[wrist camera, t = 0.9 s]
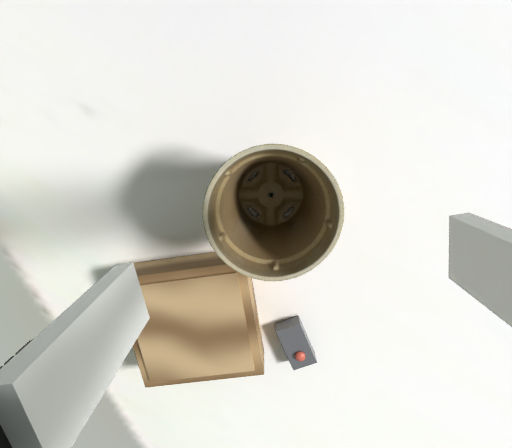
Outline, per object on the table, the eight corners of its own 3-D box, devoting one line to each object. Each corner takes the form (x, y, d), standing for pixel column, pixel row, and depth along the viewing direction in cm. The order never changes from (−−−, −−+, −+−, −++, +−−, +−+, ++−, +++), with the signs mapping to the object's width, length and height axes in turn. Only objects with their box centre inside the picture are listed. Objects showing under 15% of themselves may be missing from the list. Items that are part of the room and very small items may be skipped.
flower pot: (206, 221, 30) (184, 255, 21) (239, 125, 27) (229, 121, 19) (296, 254, 30) (310, 299, 22) (336, 163, 28) (368, 175, 20)
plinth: (128, 263, 31) (111, 281, 27) (246, 247, 30) (244, 263, 27) (156, 362, 34) (144, 389, 31) (263, 350, 34) (264, 376, 30)
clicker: (275, 321, 33) (275, 334, 31) (297, 313, 33) (300, 325, 31) (292, 358, 34) (293, 372, 32) (314, 350, 34) (317, 364, 32)
